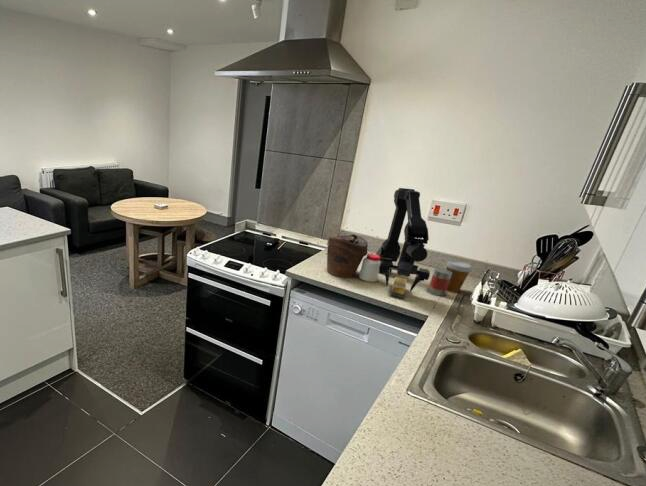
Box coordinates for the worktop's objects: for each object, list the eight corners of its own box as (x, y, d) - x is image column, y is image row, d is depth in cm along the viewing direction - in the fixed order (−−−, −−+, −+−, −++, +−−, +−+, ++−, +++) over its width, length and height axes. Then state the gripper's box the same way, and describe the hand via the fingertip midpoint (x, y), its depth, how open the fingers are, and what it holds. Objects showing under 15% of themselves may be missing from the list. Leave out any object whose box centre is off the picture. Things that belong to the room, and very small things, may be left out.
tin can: (427, 293, 167) (434, 271, 163) (427, 288, 173) (434, 267, 169) (445, 297, 165) (453, 275, 161) (444, 292, 170) (452, 270, 166)
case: (357, 267, 191) (365, 232, 184) (364, 282, 173) (374, 243, 165) (319, 262, 193) (327, 227, 186) (323, 277, 175) (331, 238, 168)
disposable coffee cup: (460, 287, 177) (469, 262, 172) (465, 295, 168) (475, 269, 163) (437, 283, 179) (445, 258, 174) (441, 291, 171) (450, 265, 166)
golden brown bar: (390, 296, 161) (393, 286, 159) (392, 286, 172) (395, 276, 170) (402, 298, 159) (405, 289, 157) (403, 288, 170) (406, 279, 168)
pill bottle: (377, 277, 180) (383, 255, 176) (376, 283, 173) (382, 259, 169) (359, 274, 183) (365, 251, 178) (358, 279, 176) (364, 256, 172)
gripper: (382, 253, 156) (373, 289, 162) (434, 264, 148) (422, 301, 155) (385, 247, 165) (375, 281, 171) (434, 256, 157) (422, 291, 164)
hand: (398, 288), depth 165 cm, fingers open, 9 cm apart
